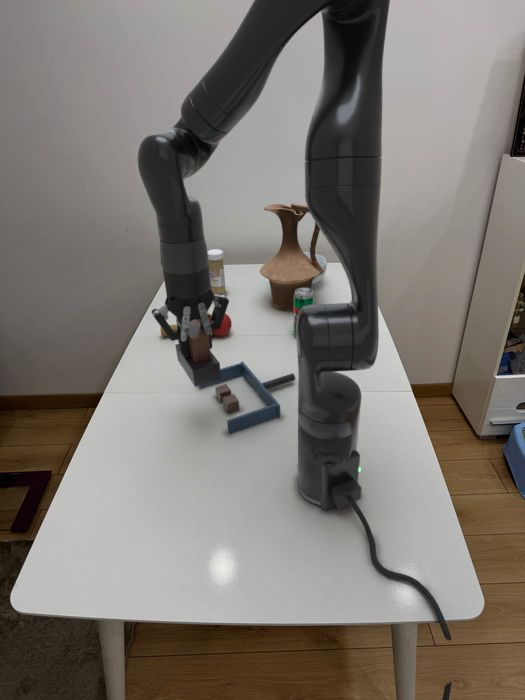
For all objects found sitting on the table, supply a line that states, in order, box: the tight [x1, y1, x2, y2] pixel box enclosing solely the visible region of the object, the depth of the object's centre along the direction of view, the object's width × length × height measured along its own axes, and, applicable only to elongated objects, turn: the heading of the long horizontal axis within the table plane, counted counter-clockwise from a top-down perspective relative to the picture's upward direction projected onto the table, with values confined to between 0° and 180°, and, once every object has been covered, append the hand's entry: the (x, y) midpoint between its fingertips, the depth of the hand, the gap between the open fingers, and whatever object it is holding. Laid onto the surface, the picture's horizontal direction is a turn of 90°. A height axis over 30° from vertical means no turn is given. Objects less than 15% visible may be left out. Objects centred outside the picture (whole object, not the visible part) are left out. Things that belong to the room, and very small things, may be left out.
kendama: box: [159, 311, 233, 338], centre depth 124 cm, size 8×6×18 cm
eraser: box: [175, 320, 221, 387], centre depth 88 cm, size 10×5×8 cm, turn 26°
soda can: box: [292, 288, 315, 336], centre depth 121 cm, size 5×5×12 cm
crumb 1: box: [214, 383, 232, 404], centre depth 102 cm, size 2×2×2 cm
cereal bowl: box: [303, 251, 328, 285], centre depth 148 cm, size 17×17×7 cm
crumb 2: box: [222, 393, 240, 414], centre depth 99 cm, size 2×2×2 cm
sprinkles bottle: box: [207, 248, 227, 296], centre depth 142 cm, size 5×5×14 cm
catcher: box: [198, 361, 296, 434], centre depth 102 cm, size 18×19×3 cm
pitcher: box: [259, 202, 323, 312], centre depth 131 cm, size 18×17×28 cm
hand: (196, 352), depth 88 cm, fingers closed on eraser, 3 cm apart
